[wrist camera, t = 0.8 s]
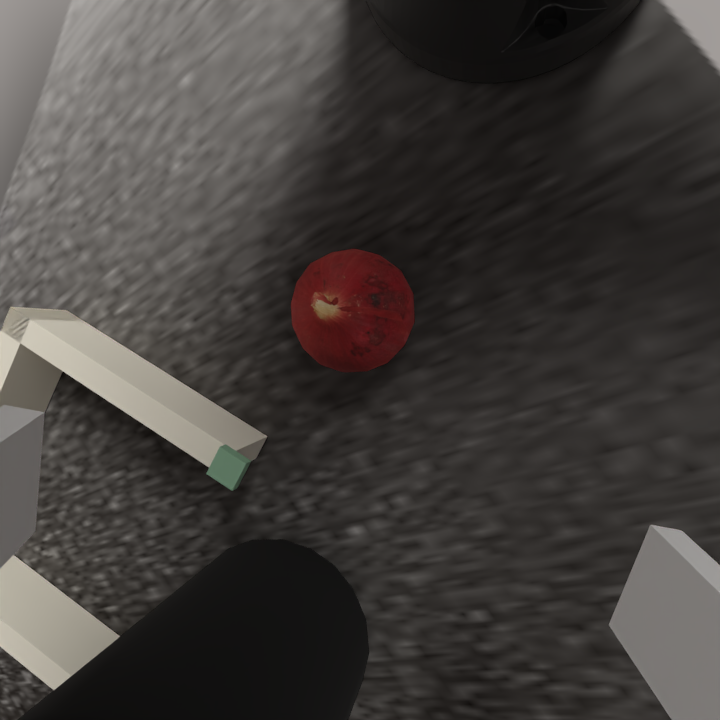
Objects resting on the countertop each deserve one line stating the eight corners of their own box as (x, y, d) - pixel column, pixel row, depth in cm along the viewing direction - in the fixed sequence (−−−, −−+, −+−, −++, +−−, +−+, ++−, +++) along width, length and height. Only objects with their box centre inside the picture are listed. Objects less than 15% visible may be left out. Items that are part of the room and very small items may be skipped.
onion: (419, 255, 28) (392, 224, 20) (427, 363, 28) (403, 375, 20) (315, 267, 29) (252, 242, 22) (323, 370, 29) (263, 383, 22)
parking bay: (66, 309, 33) (1, 305, 29) (282, 444, 30) (246, 463, 26) (-34, 543, 36) (-107, 573, 32) (154, 689, 33) (102, 745, 29)
